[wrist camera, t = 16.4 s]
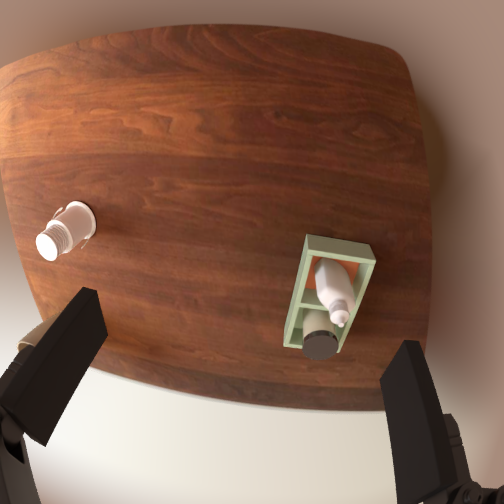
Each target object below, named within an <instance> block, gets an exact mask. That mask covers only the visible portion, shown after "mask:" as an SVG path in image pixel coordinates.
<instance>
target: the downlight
mask: <svg viewBox="0 0 504 504" xmlns="http://www.w3.org/2000/svg"><path fill="white" fill-rule="evenodd" d="M62 208H63V207H61V208H59V209H58V210H57V212H56V213H58V212H59V211H61V210H62ZM56 213H55V215H56ZM55 215H54V216H53V218H54V217H55ZM53 218H52V220H51V221H50V222H49V223H48V225H47V228H46V230H44V231H43V232H42V233H40V234H39V235H38V236H37V238H36V245H37V248H38V250H39V252H40V254H41V255H42V256H43V257H44V258H45V259H47V260H49V261H53V260H55V259H56V258H57V257H58V256H59V255H60V254H62V253H68V252H69V251H70V250H72V249H73V248H74V247H75V246H76V245H77V244H78V243H79V242H80V241H81V240H83V239H87V238H88V239H89V238H90V237H91V236H92V235H93V234H94V232H95V229H96V221H95V217H94V215H93V213H92V211H91V210H90V208H89V207H88V206H87V205H85V204H84V203H82V202H79V201H74V202H71V203H70V204H69V205H68V206H67V207H66V210H65V211H64V212H63V213H61V214H60V215H58V216H57V217H56V218H54V219H53ZM87 242H88V240H87ZM87 242H86V243H85V244H84V245H83V246H82V248H83V247H84V246H85V245H86V244H87ZM82 248H81V249H82Z"/></svg>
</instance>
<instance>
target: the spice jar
mask: <svg viewBox="0 0 504 504" xmlns="http://www.w3.org/2000/svg"><path fill="white" fill-rule="evenodd" d="M302 326H303V341H302V351H303V353H304V355H305V356H306V357H308V358H310V359H313V360H324V359H328V358H330V357H332V356H333V355H334V354H336V352H337V351H338V348H339V344H338V338H337V334H336V327H335V324H334V323H333V322H331V320H330V313H329V311H326V310H318V309H311V308H304V309H303V312H302Z"/></svg>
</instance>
